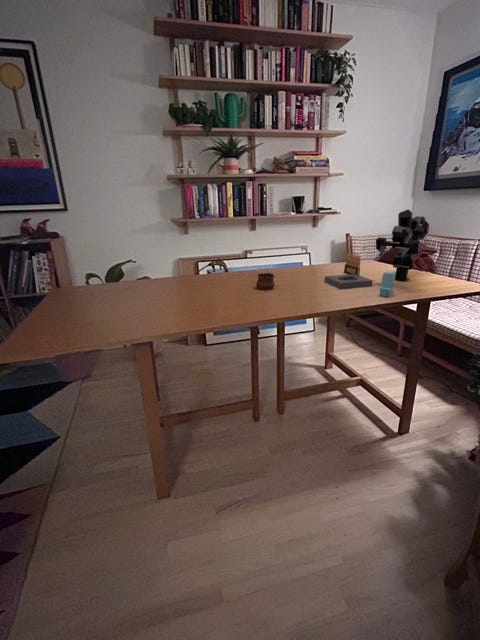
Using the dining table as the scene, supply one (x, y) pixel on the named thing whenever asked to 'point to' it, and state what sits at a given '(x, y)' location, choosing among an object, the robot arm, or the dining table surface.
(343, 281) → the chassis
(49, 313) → the dining table surface
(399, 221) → the robot arm
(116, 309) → the dining table surface
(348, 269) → the ammunition clip
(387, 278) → the servo
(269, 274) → the ceramic pot
